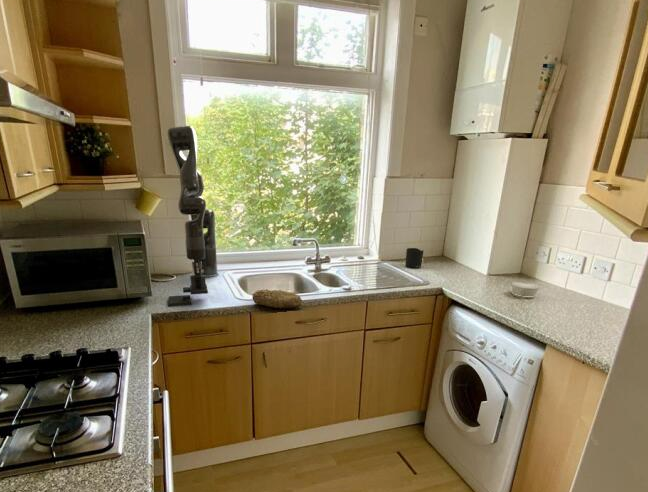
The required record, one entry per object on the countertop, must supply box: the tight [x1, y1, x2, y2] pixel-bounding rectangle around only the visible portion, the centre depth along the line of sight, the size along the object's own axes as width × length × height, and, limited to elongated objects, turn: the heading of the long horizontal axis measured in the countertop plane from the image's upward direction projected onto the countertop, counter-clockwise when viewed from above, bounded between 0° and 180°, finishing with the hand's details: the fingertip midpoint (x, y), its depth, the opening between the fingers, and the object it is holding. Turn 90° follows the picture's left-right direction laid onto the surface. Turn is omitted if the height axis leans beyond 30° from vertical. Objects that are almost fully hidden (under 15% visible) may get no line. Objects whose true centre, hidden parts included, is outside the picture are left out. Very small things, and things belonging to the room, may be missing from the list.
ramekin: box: [511, 281, 540, 299], centre depth 193 cm, size 11×11×5 cm
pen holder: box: [405, 247, 424, 270], centre depth 239 cm, size 9×9×10 cm
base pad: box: [167, 294, 192, 307], centre depth 178 cm, size 10×9×1 cm
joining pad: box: [182, 274, 209, 296], centre depth 177 cm, size 10×10×6 cm
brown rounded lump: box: [251, 289, 303, 309], centre depth 174 cm, size 13×8×20 cm
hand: (198, 287), depth 178 cm, fingers closed on joining pad
